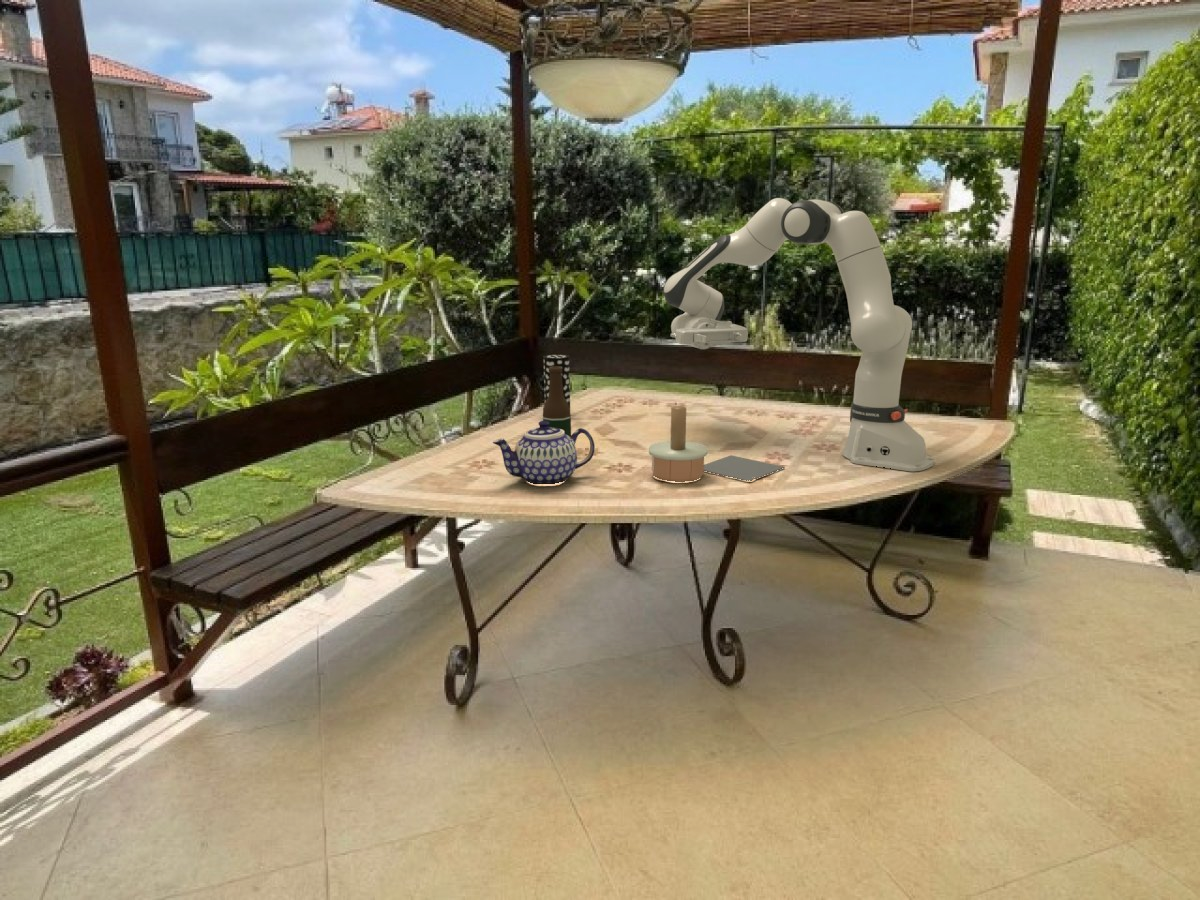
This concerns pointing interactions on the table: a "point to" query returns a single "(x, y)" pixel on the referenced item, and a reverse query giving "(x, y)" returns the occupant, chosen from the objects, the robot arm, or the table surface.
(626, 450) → the table surface
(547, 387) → the spotted tube
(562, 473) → the teapot
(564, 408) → the beer bottle
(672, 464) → the bowl
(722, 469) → the mat
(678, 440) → the lid
